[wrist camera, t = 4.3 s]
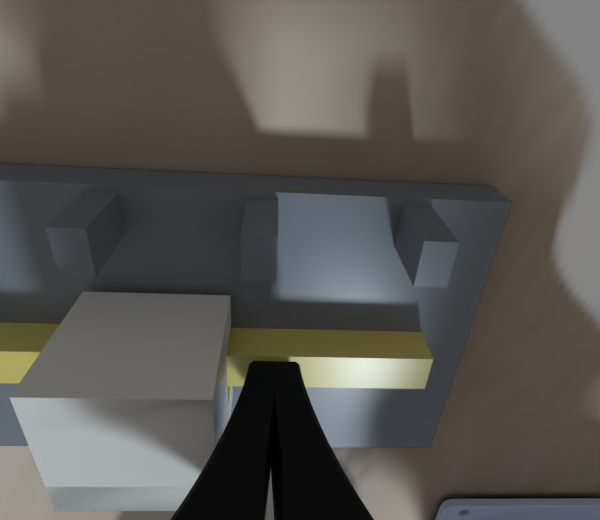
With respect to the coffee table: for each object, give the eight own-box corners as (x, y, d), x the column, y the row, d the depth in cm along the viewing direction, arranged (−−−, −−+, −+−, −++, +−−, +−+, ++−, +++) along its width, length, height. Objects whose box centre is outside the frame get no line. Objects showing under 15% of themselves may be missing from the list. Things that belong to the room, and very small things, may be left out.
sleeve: (230, 295, 12) (212, 400, 9) (232, 396, 14) (219, 510, 11) (82, 291, 12) (8, 397, 9) (107, 394, 14) (54, 511, 11)
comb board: (492, 186, 12) (559, 242, 9) (421, 421, 17) (449, 505, 14) (-142, 157, 11) (-292, 210, 8) (-21, 417, 16) (-87, 508, 13)
